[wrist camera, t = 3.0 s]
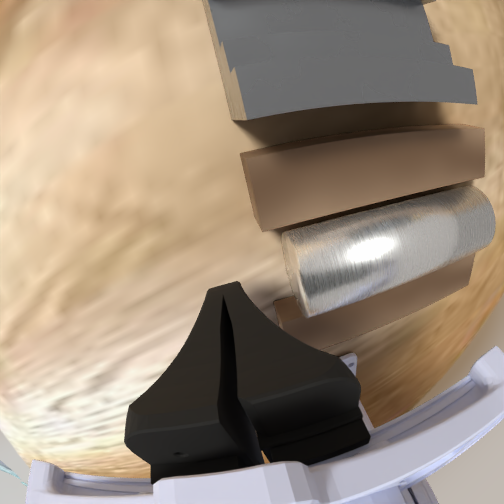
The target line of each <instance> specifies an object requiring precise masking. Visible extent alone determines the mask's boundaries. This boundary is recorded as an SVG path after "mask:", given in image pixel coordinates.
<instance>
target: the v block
mask: <svg viewBox="0 0 504 504" xmlns="http://www.w3.org/2000/svg"><path fill="white" fill-rule="evenodd" d="M202 1H203V5H204V9H205V13H206V17H207V21H208V25H209V29H210V33H211V37H212V41H213V45H214V49H215V53H216V57H217V61H218V65H219V69H220V73H221V77H222V81H223V85H224V89H225V93H226V98H227V102H228V106H229V110H230V114H231V118H232V120H250V119H255V118H260V117H265V116H270V115H276V114H281V113H287V112H293V111H300V110H306V109H314V108H321V107H330V106H339V105H350V104H362V103H378V102H450V103H465V104H477V96H476V88H475V81H474V75H473V69H468V68H464V67H459V66H454V65H453V63H452V58H451V53H450V48H449V45H445V44H441V43H436V42H433V38H432V34H431V30H430V27H429V23H428V20H427V16H426V13H425V10H424V7H423V4H427V3H430V2H434V1H436V0H202Z"/></svg>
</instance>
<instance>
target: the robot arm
mask: <svg viewBox="0 0 504 504" xmlns="http://www.w3.org/2000/svg"><path fill="white" fill-rule="evenodd" d="M356 367H357V356H356V354H355V353H349V354H346V355H344V356H341V357H337V356H334V355H331V354H328V353H325V352H323V351H320V350H318V349H316V348H313V347H311V346H309V345H307V344H305V343H304V342H302V341H300V340H298V339H296V338H295V337H293V336H291V335H290V334H288V333H287V332H285V331H284V330H282V329H281V328H280V327H278V326H277V325H276V324H274V323H273V322H272V321H271V320H270V319H269V318H267V317H266V316H265V315H264V314H263V313H262V312H261V311H260V310H259V309H258V308H257V307H256V306H255V304H254V303H253V302H252V301H251V300H250V299H249V297H248V296H247V294H246V293H245V292H244V290H243V288H242V286H241V284H240V282H238V281H236V282H232V283H228V284H225V285H221V286H217V287H214V288H210V289H209V290H208V291H207V294H206V297H205V300H204V303H203V305H202V308H201V311H200V313H199V315H198V318H197V320H196V322H195V325H194V327H193V329H192V331H191V333H190V335H189V337H188V338H187V340H186V342H185V344H184V345H183V347H182V349H181V350H180V352H179V353H178V355H177V356H176V358H175V359H174V360H173V362H172V363H171V364H170V366H169V367H168V368H167V369H166V371H165V372H164V373H163V374H162V375H161V376H160V378H159V379H158V380H157V381H156V382H155V383H154V384H153V385H152V386H151V387H150V388H149V389H148V390H147V391H146V392H145V393H143V394H142V395H141V396H140V397H139V398H138V399H136V400H135V401H134V402H133V403H132V404H130V405H129V408H128V413H127V418H126V427H125V437H124V442H125V444H126V446H127V447H128V448H129V449H130V450H131V451H132V452H133V453H134V454H136V455H137V456H139V457H140V458H142V459H143V460H144V461H146V462H147V463H149V464H150V465H151V478H118V477H104V476H93V475H85V474H77V473H70V472H64V471H63V470H62V469H61V468H59V467H58V466H56V465H54V464H51V463H49V462H44V461H39V460H35V459H34V460H32V464H31V469H30V475H29V481H28V487H27V494H26V502H25V504H439V503H438V501H437V499H436V497H435V495H434V493H433V491H432V489H431V487H430V486H429V484H428V482H427V480H426V479H425V478H426V477H428V476H430V475H431V474H433V473H434V472H436V471H437V470H439V469H440V468H442V467H443V466H445V465H446V464H448V463H449V462H451V461H452V460H454V459H455V458H456V457H458V456H459V455H460V454H462V453H463V452H464V451H466V450H467V449H468V448H470V447H471V446H472V445H473V444H475V443H476V442H477V441H478V440H480V439H481V438H482V437H483V436H484V435H485V434H487V433H488V432H489V431H490V430H491V429H492V428H494V427H495V426H496V425H497V424H498V423H499V422H500V421H501V420H502V419H503V418H504V353H503V352H502V351H501V350H500V349H499V348H498V346H494V347H493V348H491V349H490V350H489V351H488V352H487V353H485V354H484V355H482V356H481V357H480V358H479V359H478V360H477V361H476V362H475V363H474V364H473V366H472V368H471V370H470V372H469V374H468V375H467V376H466V377H464V378H463V379H461V380H460V381H458V382H457V383H456V384H454V385H453V386H451V387H450V388H448V389H446V390H445V391H443V392H442V393H440V394H438V395H437V396H435V397H434V398H432V399H430V400H429V401H427V402H425V403H423V404H422V405H420V406H418V407H416V408H414V409H413V410H411V411H409V412H407V413H405V414H403V415H401V416H399V417H397V418H395V419H393V420H391V421H389V422H387V423H385V424H383V425H381V426H379V427H377V428H374V427H373V425H372V423H371V421H370V419H369V417H368V415H367V413H366V411H365V409H364V407H363V405H362V403H361V401H360V393H361V387H360V383H359V382H358V380H357V378H356ZM255 430H256V431H255ZM261 451H263V452H264V454H265V455H266V457H267V459H268V460H269V462H270V463H268V464H265V463H264V459H263V456H262V453H261Z"/></svg>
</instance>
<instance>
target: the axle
mask: <svg viewBox="0 0 504 504" xmlns="http://www.w3.org/2000/svg"><path fill="white" fill-rule="evenodd" d="M494 233H495V215H494V211H493V208H492V205H491V203H490V201H489V200H488V198H487V197H486V195H485V194H484V193H483V192H482V191H481V190H479V189H478V188H476V187H473V186H464V187H459V188H455V189H451V190H447V191H443V192H439V193H435V194H431V195H426V196H422V197H418V198H414V199H410V200H406V201H402V202H398V203H394V204H390V205H386V206H382V207H378V208H374V209H370V210H366V211H363V212H359V213H355V214H351V215H347V216H343V217H339V218H335V219H331V220H327V221H324V222H320V223H316V224H312V225H308V226H304V227H301V228H297V229H293V230H289V231H285V232H283V233H282V236H281V242H282V248H283V254H284V259H285V265H286V270H287V274H288V278H289V282H290V285H291V288H292V291H293V294H294V297H295V299H296V302H297V304H298V306H299V309H300V310H301V312H302V314H303V315H304V317H305V318H310V317H313V316H316V315H319V314H322V313H325V312H328V311H331V310H334V309H337V308H340V307H343V306H346V305H349V304H352V303H355V302H358V301H360V300H363V299H366V298H369V297H371V296H374V295H377V294H379V293H382V292H385V291H387V290H390V289H393V288H395V287H398V286H400V285H403V284H405V283H408V282H410V281H413V280H415V279H417V278H420V277H422V276H425V275H427V274H429V273H432V272H434V271H436V270H439V269H441V268H443V267H445V266H448V265H450V264H452V263H454V262H456V261H459V260H461V259H463V258H465V257H467V256H469V255H471V254H473V253H475V252H477V251H480V250H482V249H484V248H485V247H487V246H488V245H489V244H490V242H491V241H492V239H493V236H494Z"/></svg>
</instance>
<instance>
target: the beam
mask: <svg viewBox="0 0 504 504" xmlns="http://www.w3.org/2000/svg"><path fill="white" fill-rule="evenodd" d="M240 156H241V160H242V165H243V169H244V173H245V178H246V182H247V186H248V190H249V195H250V199H251V203H252V208H253V212H254V217H255V219H256V221H257V223H258V224H259V226H260V228H261V230H262V232H265V231H268V230H272V229H276V228H280V227H283V226H287V225H291V224H295V223H299V222H303V221H306V220H310V219H314V218H318V217H322V216H326V215H330V214H333V213H337V212H341V211H345V210H349V209H353V208H357V207H361V206H365V205H369V204H373V203H377V202H381V201H385V200H389V199H393V198H397V197H402V196H406V195H410V194H414V193H418V192H422V191H427V190H431V189H435V188H439V187H443V186H448V185H452V184H456V183H461V182H465V181H469V180H474V179H478V178H483V177H484V175H485V132H484V128H480V127H475V126H470V125H465V124H444V125H422V126H407V127H395V128H385V129H375V130H366V131H358V132H351V133H344V134H337V135H330V136H324V137H318V138H312V139H306V140H301V141H295V142H290V143H285V144H280V145H275V146H271V147H266V148H261V149H257V150H253V151H248V152H244V153H240ZM474 257H475V253H473V254H471V255H469V256H467V257H465V258H463V259H461V260H459V261H456V262H454V263H452V264H450V265H448V266H445V267H443V268H441V269H439V270H436V271H434V272H432V273H429V274H427V275H425V276H422V277H420V278H417V279H415V280H413V281H410V282H408V283H405V284H403V285H400V286H398V287H395V288H393V289H390V290H387V291H385V292H382V293H379V294H377V295H374V296H371V297H369V298H366V299H363V300H360V301H358V302H355V303H352V304H349V305H346V306H343V307H340V308H337V309H334V310H331V311H328V312H325V313H322V314H319V315H316V316H313V317H310V318H305V317H304V315H303V314H302V312H301V310H300V309H299V306H298V304H297V302H296V299H295V297H294V296H291V297H288V298H284V299H281V300H277V301H274V306H275V310H276V315H277V319H278V324H279V327H280V328H281V329H282V330H284V331H285V332H287V333H288V334H290V335H291V336H293V337H295V338H296V339H298V340H300V341H302V342H304V343H305V344H307V345H309V346H311V347H313V348H316V349H318V350H321V349H324V348H327V347H330V346H332V345H335V344H338V343H341V342H344V341H346V340H349V339H352V338H354V337H357V336H360V335H362V334H365V333H367V332H370V331H372V330H375V329H377V328H380V327H382V326H384V325H387V324H389V323H391V322H394V321H396V320H398V319H401V318H403V317H405V316H407V315H409V314H412V313H414V312H416V311H418V310H420V309H422V308H424V307H426V306H429V305H431V304H433V303H435V302H437V301H439V300H441V299H443V298H445V297H446V296H448V295H450V294H452V293H454V292H456V291H458V290H460V289H462V288H463V287H465V286H467V285H468V284H469V280H470V275H471V271H472V267H473V262H474Z"/></svg>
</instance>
